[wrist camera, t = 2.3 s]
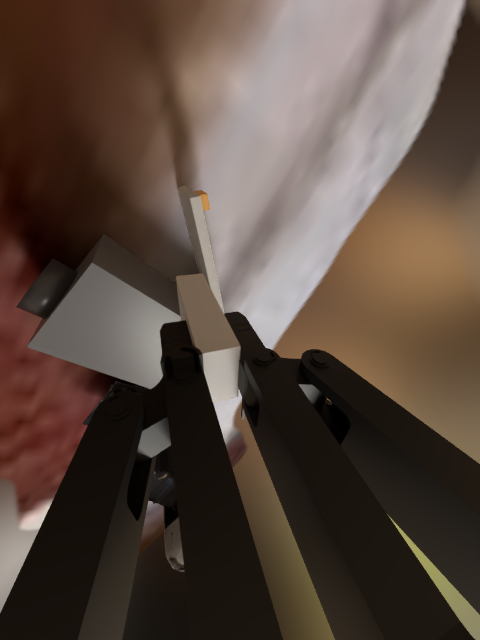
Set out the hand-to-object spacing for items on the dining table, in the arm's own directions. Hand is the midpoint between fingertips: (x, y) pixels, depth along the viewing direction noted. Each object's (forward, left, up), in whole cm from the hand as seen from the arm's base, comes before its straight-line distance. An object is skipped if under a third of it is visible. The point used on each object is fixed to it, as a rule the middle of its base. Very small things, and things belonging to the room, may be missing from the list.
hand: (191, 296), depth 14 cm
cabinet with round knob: (+3, -9, -15) cm, 17 cm away
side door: (+4, +1, -14) cm, 15 cm away
